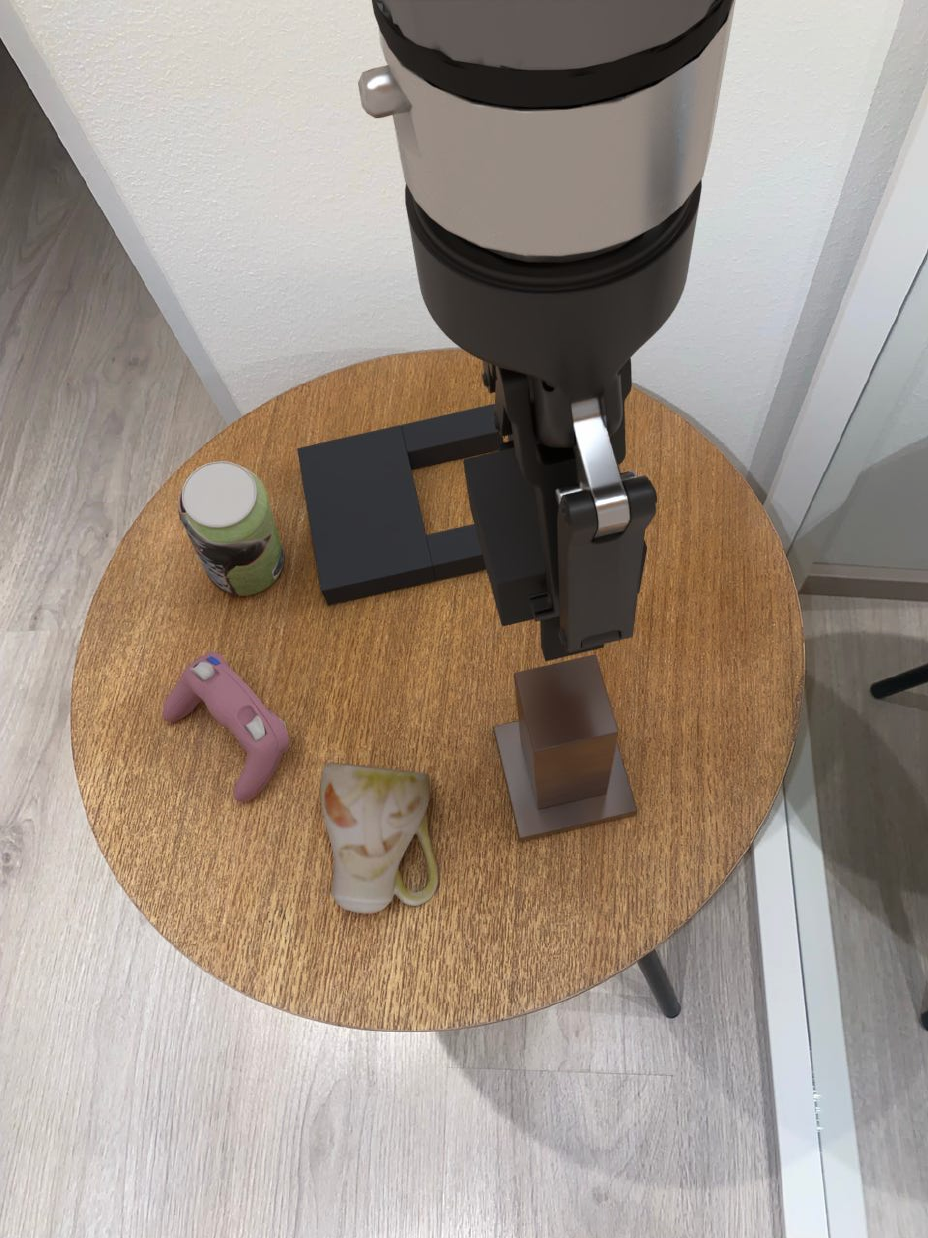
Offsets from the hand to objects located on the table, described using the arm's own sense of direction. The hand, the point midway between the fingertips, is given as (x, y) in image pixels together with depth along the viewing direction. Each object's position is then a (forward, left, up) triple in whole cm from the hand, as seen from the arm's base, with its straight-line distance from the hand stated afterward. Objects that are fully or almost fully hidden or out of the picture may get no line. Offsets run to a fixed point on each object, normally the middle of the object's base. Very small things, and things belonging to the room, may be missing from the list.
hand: (553, 582), depth 45 cm
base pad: (+6, -21, -25) cm, 33 cm away
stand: (0, +2, -25) cm, 25 cm away
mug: (+13, +4, -25) cm, 28 cm away
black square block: (0, 0, +3) cm, 3 cm away
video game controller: (+22, -6, -25) cm, 34 cm away
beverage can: (+19, -19, -25) cm, 36 cm away
